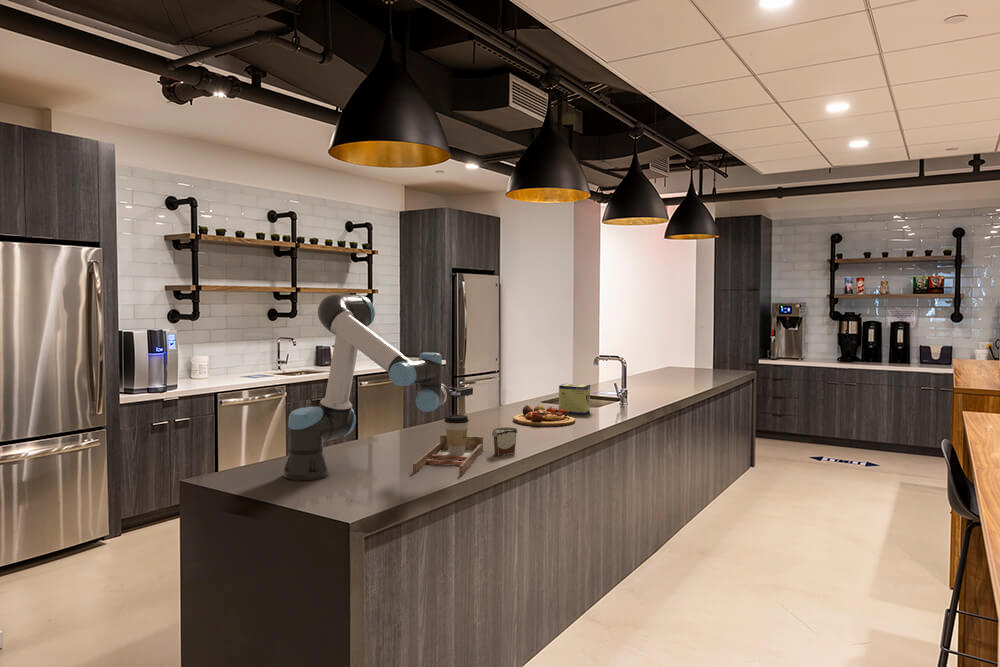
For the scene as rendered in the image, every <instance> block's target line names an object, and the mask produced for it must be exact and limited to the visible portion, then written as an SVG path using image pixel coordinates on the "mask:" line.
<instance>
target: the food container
mask: <svg viewBox="0 0 1000 667" xmlns="http://www.w3.org/2000/svg"><path fill="white" fill-rule="evenodd" d="M517 434H518V428H517V427H506V426H505V427H504V426H503V427H496V428H493V430H492V433H491V436H492V437H493V448H494V455H495V454H496V455H498V456H497V457H500V456H499V455H502V456H505V455H504V454H507V455H510V454H509V453H511V454H515V453H516V443H517ZM514 452H515V453H514ZM496 455H495V456H496Z"/></svg>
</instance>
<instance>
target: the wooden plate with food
mask: <svg viewBox="0 0 1000 667" xmlns="http://www.w3.org/2000/svg"><path fill="white" fill-rule="evenodd" d="M512 420H513V422H515V423H516V424H520V425H524V426H525V425H526V426H531V427H545V428H546V427H549V428H550V427H551V428H552V427H554V426H557V427H567V425H568V426H571V425H574V424H575V423H576V419H575V418H574V417H572V416H569V414H568V411H567V410H566V409H562V408H560V409H559V408H557V407H552V406H548V407H547V408H545V407H544V406H542V405H541V404H538V405H536V406H534V408H532V407H531V406H530V405H529V404H526V405H524V407H523V408H522V413H521V414H516V415H514V416H512Z"/></svg>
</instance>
